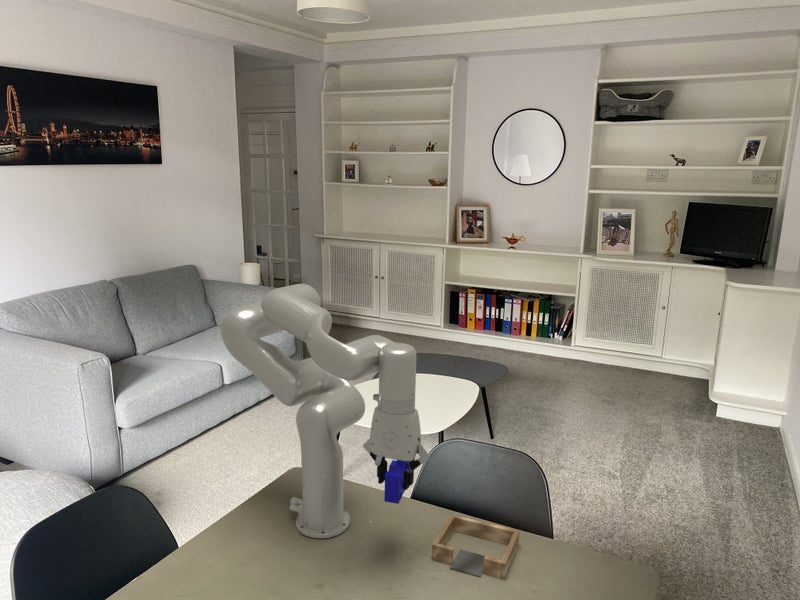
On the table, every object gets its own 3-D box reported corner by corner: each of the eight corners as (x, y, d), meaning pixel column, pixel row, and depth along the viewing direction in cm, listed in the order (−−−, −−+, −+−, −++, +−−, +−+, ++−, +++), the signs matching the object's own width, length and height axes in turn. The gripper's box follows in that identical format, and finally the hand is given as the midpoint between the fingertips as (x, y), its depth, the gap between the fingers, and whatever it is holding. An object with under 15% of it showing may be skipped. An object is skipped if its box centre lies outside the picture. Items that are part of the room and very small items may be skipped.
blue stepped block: (392, 472, 138) (392, 447, 136) (411, 475, 137) (412, 450, 135) (377, 500, 126) (377, 473, 125) (398, 503, 125) (399, 476, 124)
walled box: (429, 563, 132) (429, 548, 131) (450, 527, 145) (451, 514, 144) (502, 583, 126) (503, 568, 125) (518, 544, 139) (519, 530, 138)
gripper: (351, 402, 127) (351, 483, 131) (429, 417, 120) (426, 501, 124) (367, 390, 134) (366, 467, 138) (442, 404, 127) (438, 484, 131)
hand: (395, 482), depth 131 cm, fingers closed on blue stepped block, 5 cm apart
